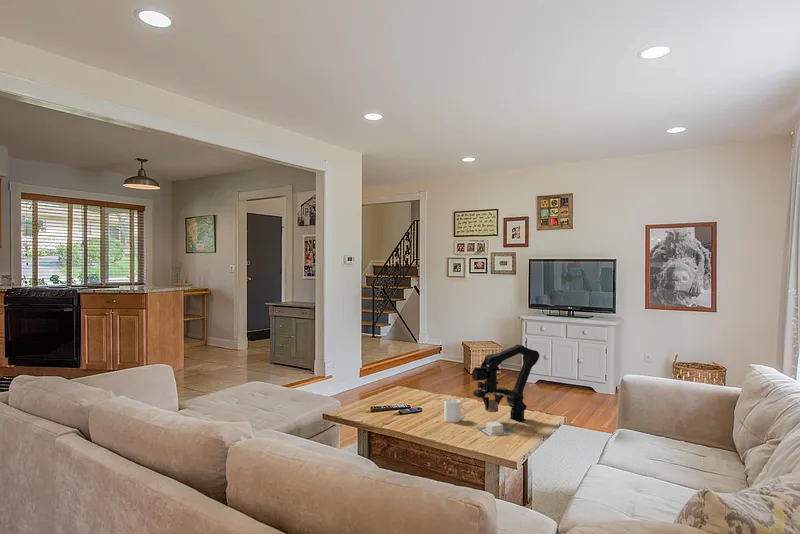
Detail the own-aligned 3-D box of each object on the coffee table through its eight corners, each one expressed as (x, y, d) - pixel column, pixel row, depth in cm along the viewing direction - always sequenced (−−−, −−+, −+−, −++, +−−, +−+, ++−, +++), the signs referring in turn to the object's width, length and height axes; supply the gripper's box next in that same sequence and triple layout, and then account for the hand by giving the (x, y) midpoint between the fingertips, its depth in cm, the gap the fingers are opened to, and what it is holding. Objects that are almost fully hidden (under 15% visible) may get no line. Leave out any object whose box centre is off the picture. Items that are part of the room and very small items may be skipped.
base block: (496, 429, 239) (496, 421, 239) (502, 433, 233) (502, 425, 233) (485, 430, 237) (485, 422, 237) (492, 434, 231) (492, 426, 231)
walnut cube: (493, 409, 254) (493, 399, 254) (498, 411, 249) (498, 402, 249) (484, 409, 252) (484, 400, 252) (489, 412, 247) (489, 403, 247)
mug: (462, 425, 247) (462, 405, 247) (441, 421, 253) (441, 401, 253) (468, 421, 254) (468, 401, 254) (448, 417, 260) (448, 398, 260)
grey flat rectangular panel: (502, 425, 246) (502, 424, 246) (516, 433, 234) (516, 432, 234) (475, 429, 241) (475, 427, 241) (488, 437, 229) (488, 435, 229)
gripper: (498, 374, 262) (498, 403, 261) (468, 377, 255) (468, 406, 255) (509, 379, 251) (509, 408, 251) (478, 381, 245) (478, 412, 245)
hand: (491, 408), depth 251 cm, fingers closed on walnut cube, 5 cm apart
